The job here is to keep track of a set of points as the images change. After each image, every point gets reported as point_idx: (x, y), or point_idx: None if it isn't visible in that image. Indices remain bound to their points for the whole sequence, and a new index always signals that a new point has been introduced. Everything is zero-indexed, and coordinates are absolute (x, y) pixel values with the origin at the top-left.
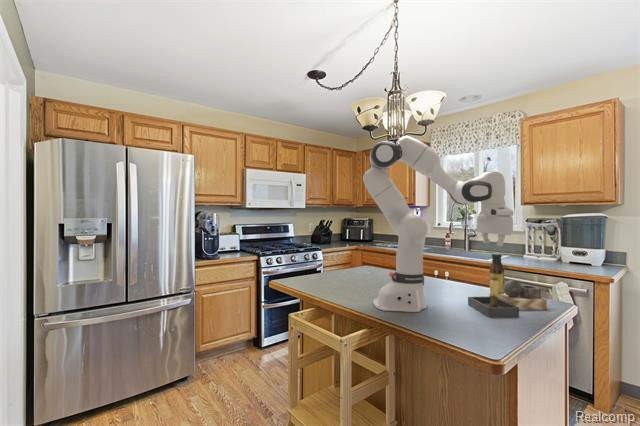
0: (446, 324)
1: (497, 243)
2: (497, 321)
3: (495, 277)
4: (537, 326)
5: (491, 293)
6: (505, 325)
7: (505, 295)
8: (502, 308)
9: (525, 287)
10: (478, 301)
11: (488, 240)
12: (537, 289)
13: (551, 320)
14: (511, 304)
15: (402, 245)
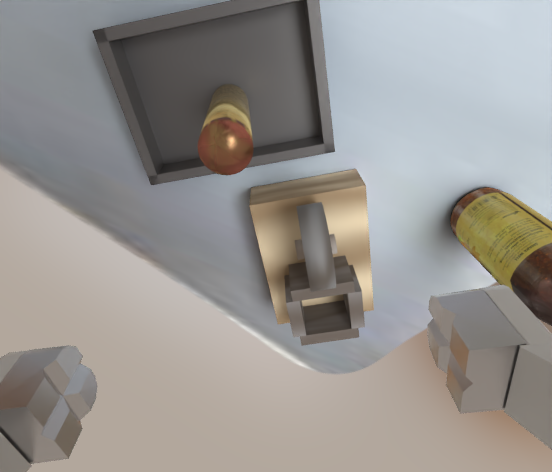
0: None
1: (21, 371)
2: (63, 48)
3: (513, 245)
4: (62, 187)
5: (215, 101)
6: (18, 63)
7: (334, 205)
8: (122, 106)
9: (348, 308)
10: (219, 16)
11: (451, 376)
12: (292, 330)
13: (151, 259)
14: (197, 174)
15: None
